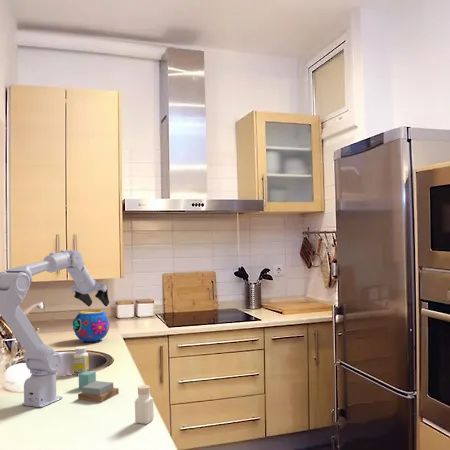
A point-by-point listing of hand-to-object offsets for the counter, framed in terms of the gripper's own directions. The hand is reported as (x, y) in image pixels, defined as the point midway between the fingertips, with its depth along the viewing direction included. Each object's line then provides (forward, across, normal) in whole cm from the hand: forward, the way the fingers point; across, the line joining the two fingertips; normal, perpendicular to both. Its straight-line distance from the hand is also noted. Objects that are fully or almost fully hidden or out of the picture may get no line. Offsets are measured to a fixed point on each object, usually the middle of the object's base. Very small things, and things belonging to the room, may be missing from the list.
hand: (98, 304), depth 179 cm
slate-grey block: (+8, -12, +30) cm, 33 cm away
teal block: (+14, -2, +25) cm, 29 cm away
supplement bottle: (+23, +12, +14) cm, 30 cm away
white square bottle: (+2, -38, +42) cm, 57 cm away
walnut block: (+11, -12, +31) cm, 35 cm away
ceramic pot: (+54, +48, -26) cm, 76 cm away
